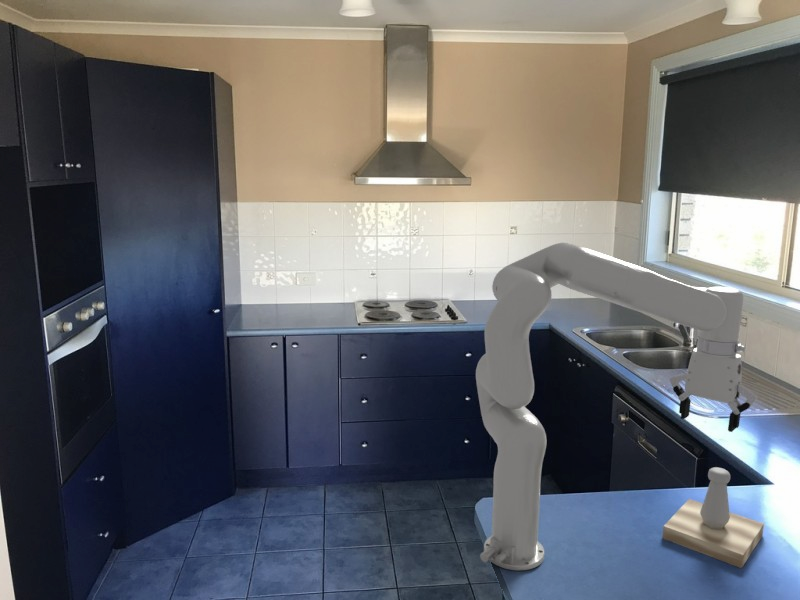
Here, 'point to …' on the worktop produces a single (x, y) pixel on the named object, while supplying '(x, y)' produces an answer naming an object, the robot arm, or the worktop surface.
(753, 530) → the plinth
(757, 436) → the worktop surface
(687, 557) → the worktop surface
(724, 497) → the salt shaker
